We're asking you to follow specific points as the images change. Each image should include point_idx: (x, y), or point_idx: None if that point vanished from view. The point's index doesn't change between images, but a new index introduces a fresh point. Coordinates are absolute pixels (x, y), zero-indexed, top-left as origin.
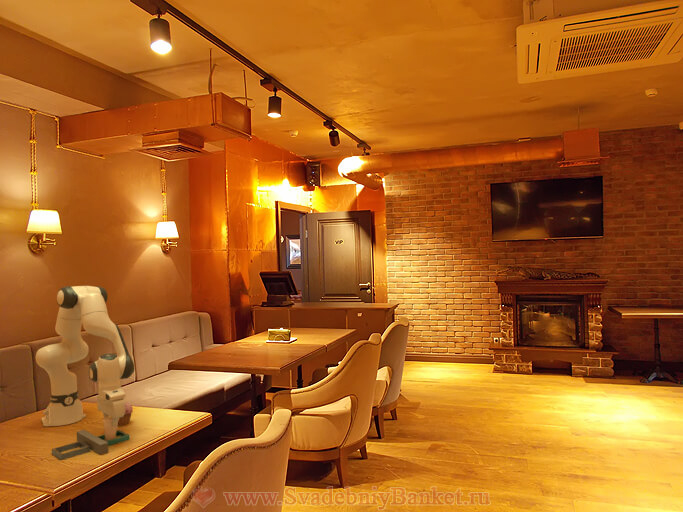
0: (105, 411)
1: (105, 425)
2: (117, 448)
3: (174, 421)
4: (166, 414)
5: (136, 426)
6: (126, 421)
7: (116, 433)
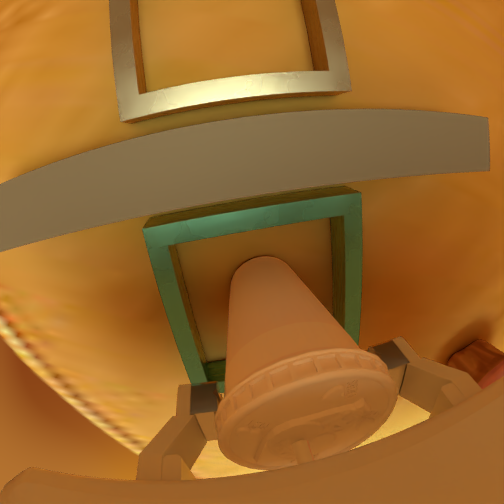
0: (373, 479)
1: (269, 337)
2: (72, 290)
3: None
4: None
5: None
6: None
7: None
